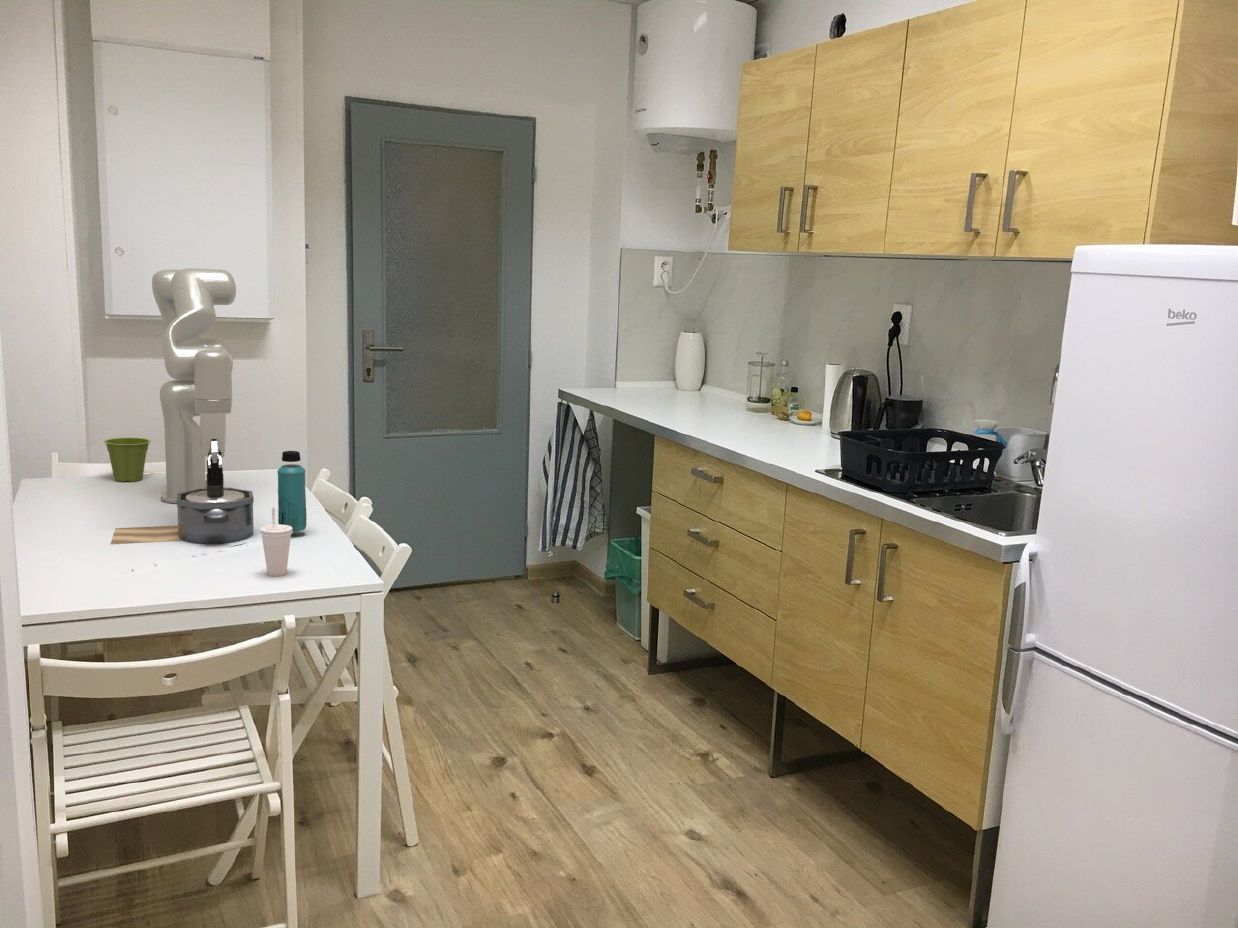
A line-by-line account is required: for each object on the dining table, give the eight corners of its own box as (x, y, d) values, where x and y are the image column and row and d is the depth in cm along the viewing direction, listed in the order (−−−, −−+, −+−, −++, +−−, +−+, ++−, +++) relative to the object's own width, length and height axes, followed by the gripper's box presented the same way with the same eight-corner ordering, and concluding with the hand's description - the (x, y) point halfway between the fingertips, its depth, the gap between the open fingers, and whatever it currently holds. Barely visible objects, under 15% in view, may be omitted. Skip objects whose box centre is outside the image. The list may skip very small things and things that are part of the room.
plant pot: (139, 485, 282) (138, 445, 280) (97, 482, 282) (95, 443, 280) (159, 476, 294) (158, 438, 292) (118, 474, 294) (117, 436, 292)
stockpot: (179, 529, 239) (178, 487, 237) (251, 526, 245) (250, 484, 243) (177, 553, 220) (176, 507, 219) (255, 549, 226) (255, 504, 225)
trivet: (115, 532, 234) (115, 528, 234) (181, 529, 239) (181, 525, 239) (110, 548, 221) (110, 544, 221) (180, 545, 227) (180, 540, 226)
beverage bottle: (312, 533, 242) (312, 450, 238) (295, 539, 236) (294, 454, 232) (289, 529, 244) (288, 447, 240) (271, 536, 238) (270, 451, 234)
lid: (221, 491, 240) (221, 466, 239) (256, 500, 233) (255, 474, 232) (174, 499, 229) (173, 473, 228) (208, 508, 223) (208, 482, 222)
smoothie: (265, 568, 213) (264, 503, 210) (296, 569, 213) (295, 504, 211) (256, 577, 206) (255, 510, 204) (289, 578, 207) (288, 511, 204)
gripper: (195, 400, 234) (197, 473, 237) (194, 411, 218) (197, 489, 221) (230, 400, 236) (231, 472, 240) (232, 411, 221) (233, 488, 224)
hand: (215, 480), depth 230 cm, fingers open, 9 cm apart
